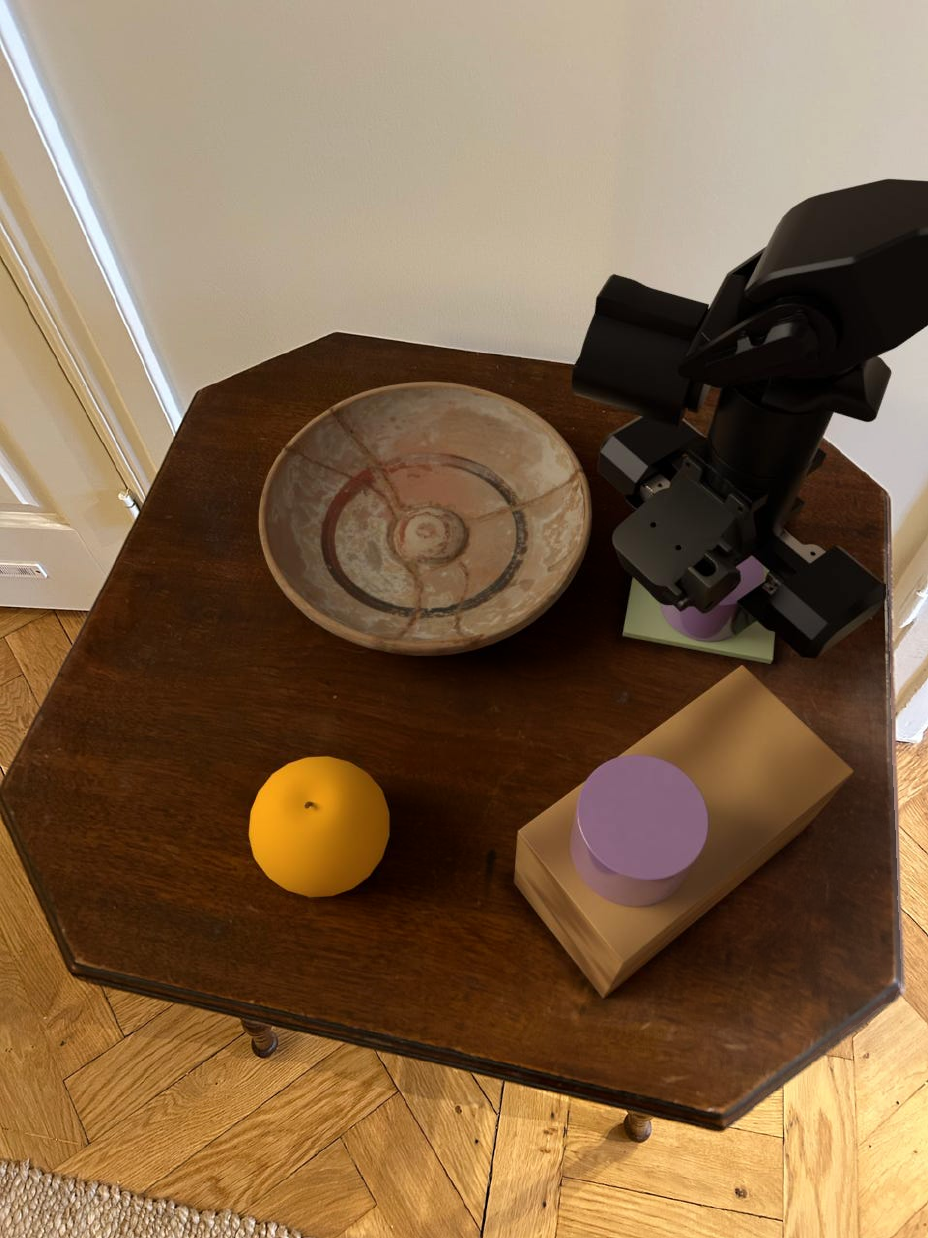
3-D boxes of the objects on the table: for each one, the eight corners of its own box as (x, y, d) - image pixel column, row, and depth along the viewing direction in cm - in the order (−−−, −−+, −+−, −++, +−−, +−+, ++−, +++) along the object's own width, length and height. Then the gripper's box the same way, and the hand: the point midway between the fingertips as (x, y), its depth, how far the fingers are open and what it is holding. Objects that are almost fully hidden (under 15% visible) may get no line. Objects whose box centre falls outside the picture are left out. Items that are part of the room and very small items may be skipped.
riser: (804, 829, 55) (854, 770, 47) (603, 999, 50) (623, 964, 42) (709, 733, 58) (742, 664, 51) (513, 882, 53) (517, 831, 46)
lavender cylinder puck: (716, 858, 45) (737, 827, 41) (625, 933, 43) (638, 907, 39) (634, 767, 47) (646, 730, 44) (545, 834, 46) (550, 802, 42)
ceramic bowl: (236, 667, 62) (218, 628, 57) (308, 417, 74) (297, 370, 70) (578, 698, 60) (585, 660, 56) (592, 436, 72) (599, 389, 68)
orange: (404, 789, 57) (393, 739, 50) (383, 918, 52) (369, 880, 46) (278, 777, 57) (252, 725, 51) (249, 902, 53) (216, 863, 47)
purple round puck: (765, 611, 62) (783, 573, 58) (702, 657, 60) (716, 621, 57) (703, 555, 65) (716, 515, 61) (641, 597, 63) (650, 559, 59)
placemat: (770, 664, 61) (773, 660, 60) (622, 636, 62) (623, 631, 62) (782, 506, 68) (784, 500, 68) (648, 484, 69) (649, 479, 69)
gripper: (537, 406, 51) (528, 569, 64) (788, 632, 42) (717, 766, 56) (683, 324, 54) (645, 495, 67) (942, 518, 46) (841, 670, 59)
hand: (705, 599), depth 62 cm, fingers closed on purple round puck, 6 cm apart
